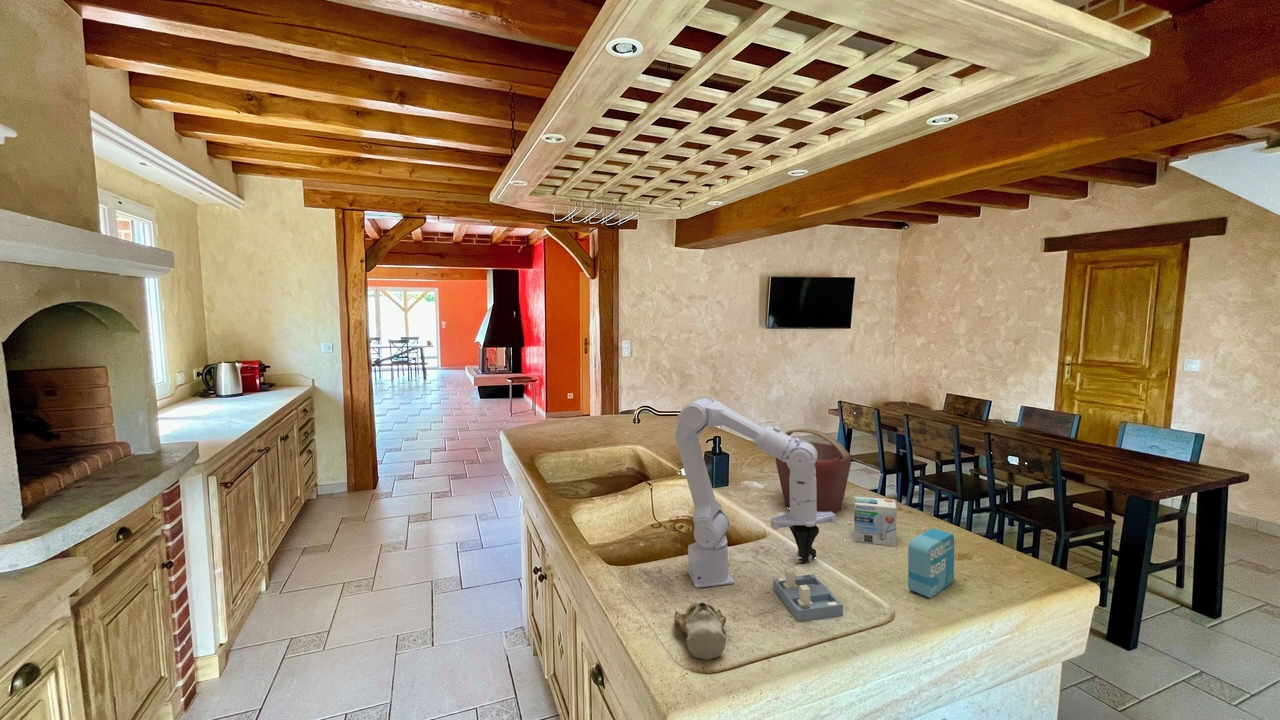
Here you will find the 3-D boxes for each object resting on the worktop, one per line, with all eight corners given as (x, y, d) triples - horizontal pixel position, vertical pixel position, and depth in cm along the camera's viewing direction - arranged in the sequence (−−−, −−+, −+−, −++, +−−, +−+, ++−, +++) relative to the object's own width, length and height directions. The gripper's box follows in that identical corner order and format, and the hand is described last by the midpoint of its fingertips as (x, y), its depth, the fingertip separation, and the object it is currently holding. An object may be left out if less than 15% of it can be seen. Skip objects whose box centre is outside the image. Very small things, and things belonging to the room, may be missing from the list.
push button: (803, 568, 129) (803, 530, 128) (787, 560, 134) (786, 523, 133) (821, 560, 132) (821, 523, 131) (805, 553, 137) (804, 516, 136)
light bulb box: (854, 541, 142) (853, 504, 141) (853, 531, 148) (853, 495, 147) (897, 547, 138) (897, 507, 137) (895, 536, 144) (895, 499, 143)
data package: (928, 600, 113) (928, 547, 112) (907, 591, 117) (907, 540, 116) (954, 582, 120) (954, 532, 119) (934, 574, 124) (934, 526, 122)
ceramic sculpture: (678, 623, 94) (671, 585, 109) (680, 670, 95) (672, 625, 110) (736, 620, 95) (721, 582, 110) (738, 667, 95) (722, 622, 110)
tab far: (786, 592, 117) (786, 574, 116) (783, 588, 119) (782, 569, 118) (797, 591, 117) (797, 572, 117) (793, 586, 119) (793, 568, 118)
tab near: (801, 610, 110) (800, 590, 109) (797, 605, 112) (796, 585, 111) (812, 608, 110) (812, 589, 110) (808, 603, 112) (808, 584, 112)
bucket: (762, 501, 175) (760, 428, 172) (812, 489, 184) (811, 419, 181) (814, 527, 153) (813, 444, 150) (868, 512, 162) (868, 433, 159)
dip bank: (797, 621, 108) (797, 610, 107) (773, 588, 120) (773, 578, 120) (842, 615, 109) (842, 604, 109) (813, 583, 122) (813, 573, 122)
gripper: (779, 507, 110) (780, 568, 111) (843, 500, 112) (843, 560, 113) (766, 495, 117) (767, 553, 118) (826, 489, 119) (827, 546, 120)
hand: (803, 555), depth 116 cm, fingers closed
